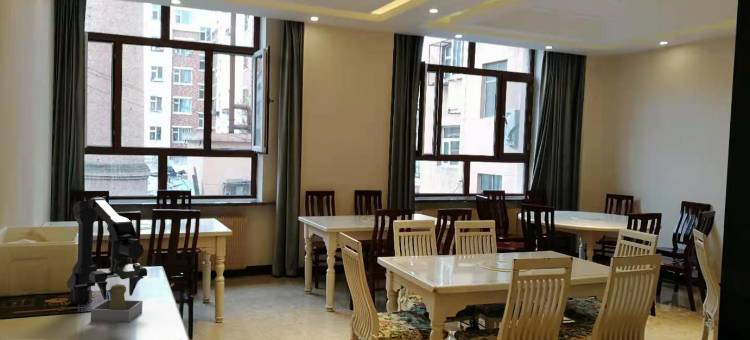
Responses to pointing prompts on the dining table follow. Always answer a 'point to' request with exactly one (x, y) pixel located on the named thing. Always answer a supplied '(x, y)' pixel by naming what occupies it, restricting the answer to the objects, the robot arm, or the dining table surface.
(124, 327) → the dining table surface
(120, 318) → the bin
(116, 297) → the cork
